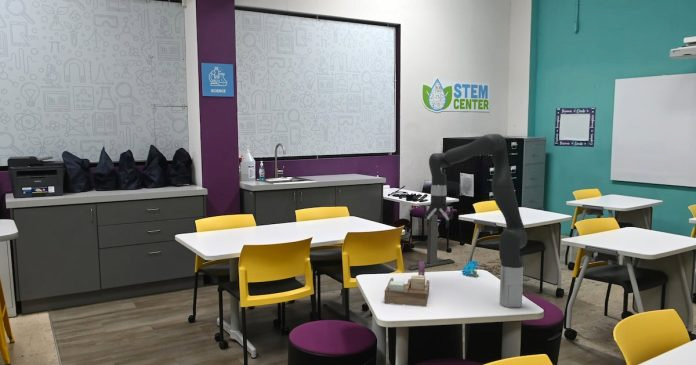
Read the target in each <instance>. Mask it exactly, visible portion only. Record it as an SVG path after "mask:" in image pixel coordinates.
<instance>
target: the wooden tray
mask: <svg viewBox="0 0 696 365" xmlns="http://www.w3.org/2000/svg"><path fill="white" fill-rule="evenodd" d="M394 280H395V279H394V277H390V279H389V281H388V283H387V286H386V287H385V289H384V302H383V303H384V304H390V303H393V305H403V304H405V305H406V306H417V307H419V306H420V307H427V304H428V299H429V294H430V280H429V279H427V280H426V281H425V289H424V290H418V289H411V278H408V279H407V283H405V284H404V291H393V290H389V284H390V282H391V281H394Z"/></svg>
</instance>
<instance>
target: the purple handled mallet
mask: <svg viewBox="0 0 696 365" xmlns="http://www.w3.org/2000/svg"><path fill="white" fill-rule="evenodd" d="M425 265H426V261H424V260H423V261H422V260H421V261H418V272H417V273H418V275H417V274H412V275H411V278H410V279H411V289H418V290H424V289H425V285H426V275H425V269H426V266H425Z"/></svg>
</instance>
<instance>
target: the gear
mask: <svg viewBox="0 0 696 365" xmlns="http://www.w3.org/2000/svg"><path fill="white" fill-rule="evenodd" d="M478 266H479V263H478V260H474V259H472V260H469V261H468V263H465V266H463V267H462V270H461V272H462V275H463V276H467V277H468V276H471V275H472V274H473V275H475V276H476V277H480V275H479V274H478V271H477V269H478Z"/></svg>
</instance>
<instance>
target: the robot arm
mask: <svg viewBox="0 0 696 365" xmlns="http://www.w3.org/2000/svg"><path fill="white" fill-rule="evenodd" d="M507 146H508V145H507V143H506V139H505V138H504V136H503V135H501V134H500V133H499V134H498V133H490V134H489V133H488V134H485V135H482V136H480V137H479V138H477V139H475V140H474V141H471V142H469V143H467V144H464V145H460V146H457V147H454V148H451V149H448V150H447V151H446V152H441V153H440V152H437V153H435V152H434V153H432V154H431V155H430V156H429V158H428V165H429V170H430V173H431V187H430V205H427V204H426V205H424V206H423V215H422V217H423V218H424V219H426V226H427V227H428V228H430V227H431V217H432V216H433V215H434V216H437V215H438V216H443V217H444V218H445V228H446V229H447V228H448V227H450V220H453V218H454V214H453V211H454V210H453V206H447V195H448V194H447V190H448V189H447V174H446V173H445V172H442V168H448V167H451V166H453V165H454V164H458V163H461V162H462V163H463V162H465V161H466V160H468V159H470V158H473V157H477V156H478V157H479V156H491V157H492V161H493V175H492V180H491V191H492V195H493V200H494V202H495V205H496V206H497V208H498V209H499V211H500V212H501V214H502V216H503V218H504V221H505V225H506V229H505V230H504V231H502V232H501V233H500V237H499V241H498V243H499V244H498V245H499V247H498V249H499V251H498V252H499V253H498V255H499V259H500V277H499V278H500V284H499V305H501V306H503V307H507V308H509V309H510V308H522V307H523V292H524V291H523V290H524V289H523V288H524V286H523V281H524V280H523V278H524V260H523V259H522V258H521V255H520V254H521V250H520V249H522V248H524V247H526V245H527V243H528V236H527V232H526V228H525V226H524V222H523V219H522V217H521V214H520V209H519V205H518V200H517V196H516V195H517V194H516V190H515V189H516V188H515V187H514V182H513V179H512V172H511V169H510V164H509V163H510V162H509V157H508V148H507ZM429 209H430V213H429V214H428V215H427V211H429ZM446 211H449V216H448V214H447V213H446Z"/></svg>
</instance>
